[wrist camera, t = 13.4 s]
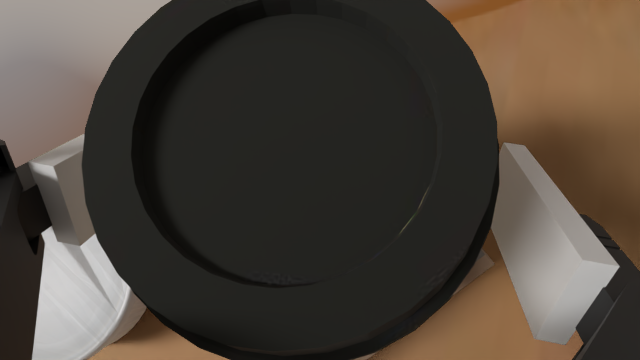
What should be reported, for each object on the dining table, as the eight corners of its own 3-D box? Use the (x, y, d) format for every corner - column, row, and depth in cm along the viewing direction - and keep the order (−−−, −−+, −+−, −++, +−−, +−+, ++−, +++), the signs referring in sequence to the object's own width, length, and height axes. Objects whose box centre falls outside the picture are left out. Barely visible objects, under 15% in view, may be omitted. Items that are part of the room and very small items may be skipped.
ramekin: (186, 233, 30) (154, 225, 25) (140, 373, 28) (94, 395, 23) (70, 206, 32) (18, 192, 27) (16, 336, 29) (-53, 349, 24)
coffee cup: (255, 327, 20) (40, 447, 6) (235, 167, 23) (53, -18, 9) (424, 294, 20) (623, 337, 6) (384, 137, 23) (452, -101, 8)
